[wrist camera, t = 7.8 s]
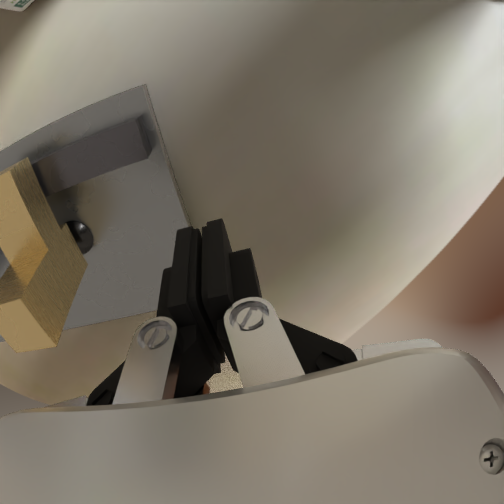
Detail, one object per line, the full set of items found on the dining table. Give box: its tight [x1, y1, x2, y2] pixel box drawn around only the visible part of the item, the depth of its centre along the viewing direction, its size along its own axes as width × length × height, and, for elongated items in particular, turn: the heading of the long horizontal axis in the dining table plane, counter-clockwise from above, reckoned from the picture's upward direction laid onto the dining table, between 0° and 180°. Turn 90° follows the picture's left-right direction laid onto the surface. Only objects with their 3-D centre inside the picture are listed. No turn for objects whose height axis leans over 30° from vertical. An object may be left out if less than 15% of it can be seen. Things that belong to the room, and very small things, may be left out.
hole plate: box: [0, 84, 191, 342], centre depth 15 cm, size 22×14×8 cm, turn 102°
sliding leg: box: [0, 157, 88, 353], centre depth 13 cm, size 3×8×7 cm, turn 12°
